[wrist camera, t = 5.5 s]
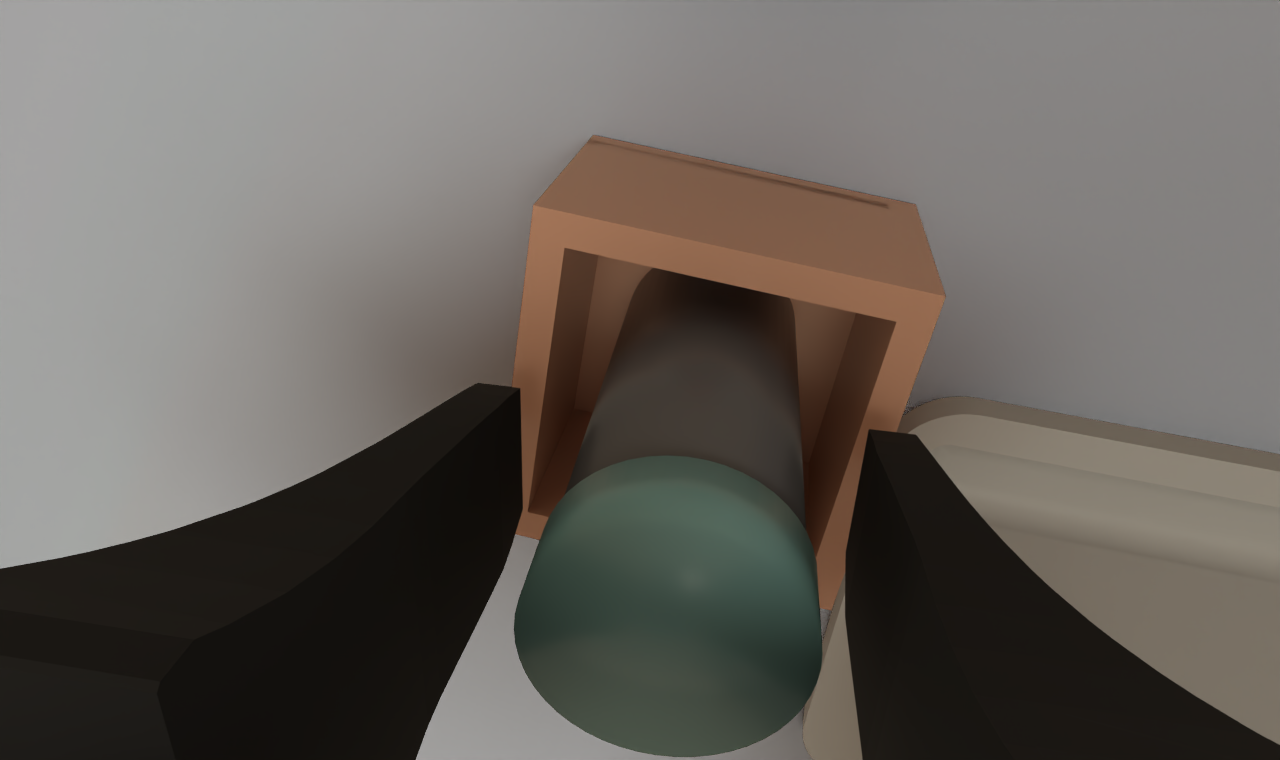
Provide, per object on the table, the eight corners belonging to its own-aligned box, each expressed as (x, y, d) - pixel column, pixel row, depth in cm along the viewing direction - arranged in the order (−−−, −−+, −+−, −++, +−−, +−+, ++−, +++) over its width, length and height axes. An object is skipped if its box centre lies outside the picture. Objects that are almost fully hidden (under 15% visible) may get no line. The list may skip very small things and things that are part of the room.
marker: (788, 414, 17) (800, 774, 10) (618, 395, 18) (515, 735, 11) (813, 250, 16) (845, 543, 9) (625, 234, 16) (511, 504, 9)
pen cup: (915, 204, 16) (945, 296, 12) (827, 473, 18) (831, 610, 15) (593, 134, 16) (532, 204, 13) (553, 409, 19) (494, 528, 15)
